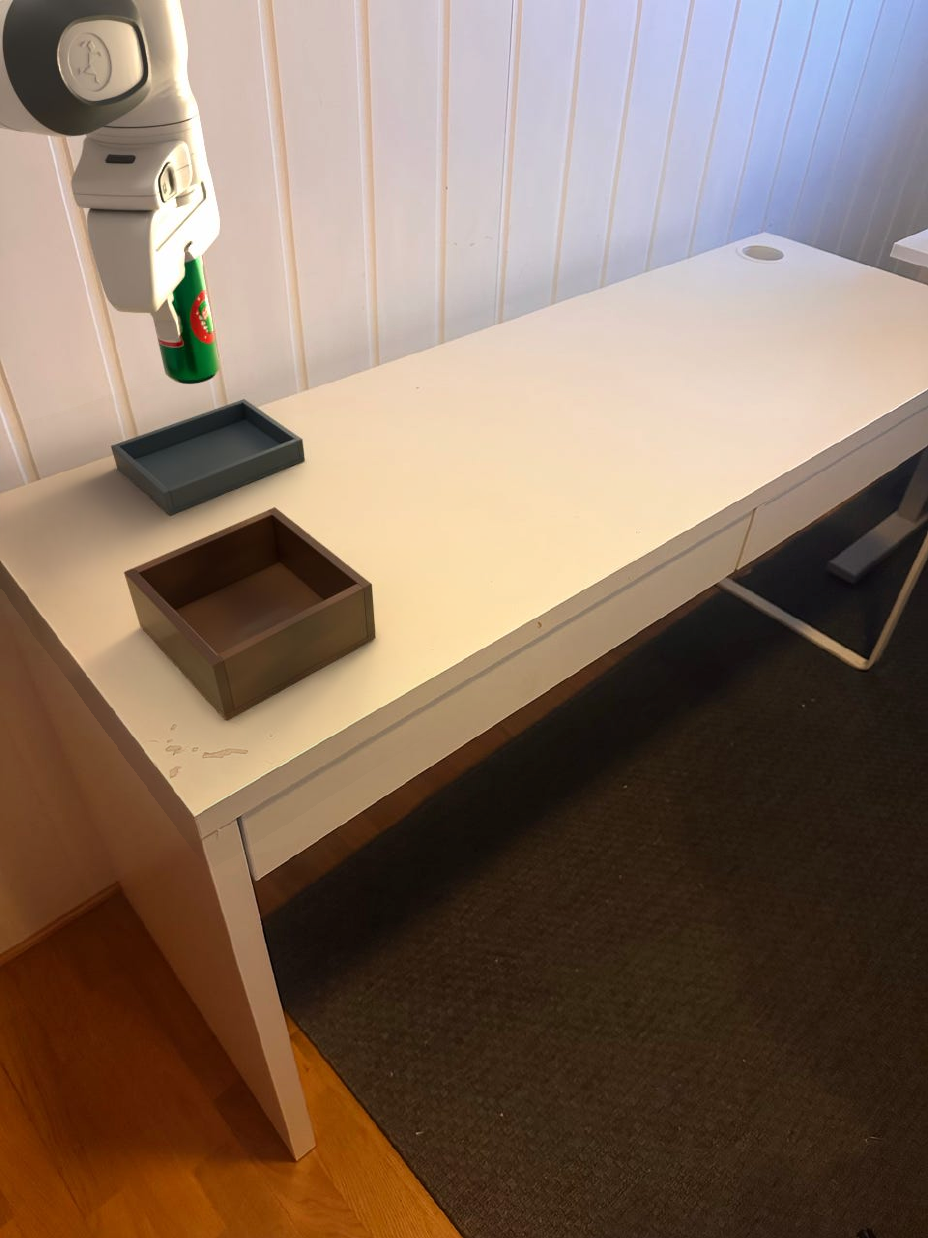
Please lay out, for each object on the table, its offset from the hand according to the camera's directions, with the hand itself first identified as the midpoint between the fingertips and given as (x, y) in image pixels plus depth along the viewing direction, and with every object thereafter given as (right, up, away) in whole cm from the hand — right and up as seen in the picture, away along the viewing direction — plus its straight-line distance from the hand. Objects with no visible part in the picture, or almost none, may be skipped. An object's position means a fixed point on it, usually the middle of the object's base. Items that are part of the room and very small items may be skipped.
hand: (182, 321), depth 81 cm
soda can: (0, -4, +4) cm, 5 cm away
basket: (+9, -28, -9) cm, 31 cm away
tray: (0, -11, +10) cm, 15 cm away
